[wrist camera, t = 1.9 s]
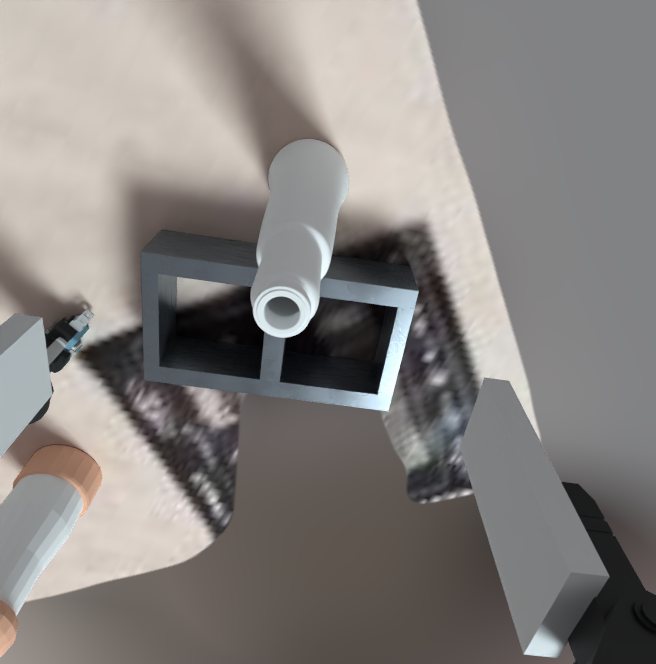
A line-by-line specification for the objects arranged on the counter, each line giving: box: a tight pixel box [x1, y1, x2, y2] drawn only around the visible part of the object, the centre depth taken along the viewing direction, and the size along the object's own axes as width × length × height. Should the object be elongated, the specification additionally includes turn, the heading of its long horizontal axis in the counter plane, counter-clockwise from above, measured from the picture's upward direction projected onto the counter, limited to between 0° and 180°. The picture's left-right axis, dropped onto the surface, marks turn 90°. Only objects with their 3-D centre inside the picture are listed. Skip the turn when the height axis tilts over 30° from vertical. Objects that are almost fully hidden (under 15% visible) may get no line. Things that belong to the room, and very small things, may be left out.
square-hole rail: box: [141, 230, 419, 411], centre depth 42 cm, size 20×11×5 cm, turn 82°
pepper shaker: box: [0, 445, 102, 657], centre depth 45 cm, size 7×7×19 cm
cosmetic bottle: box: [250, 139, 349, 338], centre depth 29 cm, size 6×6×22 cm
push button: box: [29, 309, 94, 424], centre depth 41 cm, size 7×5×10 cm
